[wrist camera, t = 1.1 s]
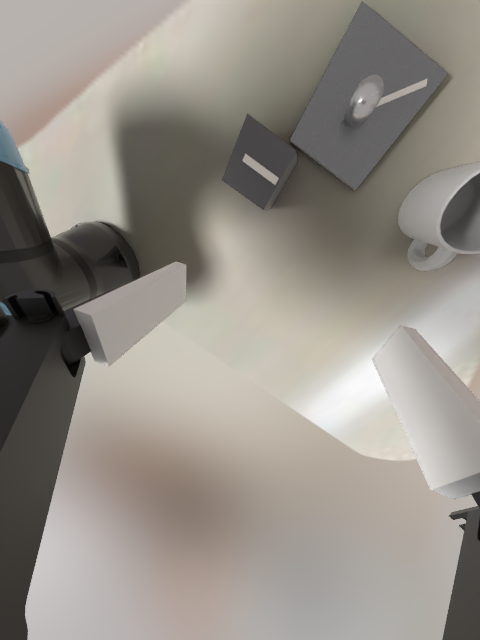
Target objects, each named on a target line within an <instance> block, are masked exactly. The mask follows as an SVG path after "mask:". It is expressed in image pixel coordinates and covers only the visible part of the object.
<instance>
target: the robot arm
mask: <svg viewBox="0 0 480 640" xmlns="http://www.w3.org/2000/svg"><path fill="white" fill-rule="evenodd" d="M28 173H29V170H28V168H26V167H25V165H24V163H23V160H22V158H21V156H20V153H19V151H18V148H17V146H16V143H15V141H14V139H13V137H12V134H11V133H10V131H9V130H8V128H7V127H6V126H5V125H4V124H3V123H2V122H1V121H0V640H27V635H28V633H27V632H28V629H27V624H26V619H25V605H26V599H27V595H28V591H29V587H30V583H31V579H32V575H33V571H34V567H35V563H36V559H37V555H38V551H39V547H40V543H41V539H42V534H43V531H44V526H45V523H46V519H47V515H48V511H49V507H50V503H51V499H52V494H53V491H54V486H55V483H56V479H57V474H58V471H59V466H60V463H61V458H62V455H63V450H64V446H65V442H66V438H67V434H68V430H69V426H70V422H71V418H72V414H73V410H74V406H75V402H76V398H77V394H78V390H79V386H80V382H81V378H82V374H83V370H84V366H85V357H84V356H85V355H86V354H88V353H89V352H91V353H92V356H93V358H94V360H95V361H96V362H99V363H102V364H104V365H107V366H110V365H112V364H113V363H114V362H115V361H116V360H118V359H119V358H120V357H121V356H122V355H123V354H124V353H125V352H127V351H128V350H129V349H130V348H132V347H133V346H134V345H135V344H136V343H137V342H139V341H140V340H141V339H142V338H143V337H144V336H146V335H147V334H148V333H149V332H150V331H152V330H153V329H154V328H155V327H156V326H157V325H158V324H160V323H161V322H162V321H163V320H165V319H166V318H167V317H168V316H169V315H170V314H172V313H173V312H174V311H175V310H176V309H177V308H179V307H180V306H181V305H182V304H183V303H184V302H186V264H183V263H179V262H174V263H171V264H169V265H167V266H165V267H163V268H161V269H159V270H156V271H154V272H152V273H150V274H148V275H146V276H144V277H141V278H139V267H138V263H137V260H136V258H135V255H134V253H133V251H132V250H131V248H130V246H129V245H128V244H127V242H126V241H125V240H124V239H123V238H122V236H121V235H120V234H118V233H117V232H116V231H115V230H114V229H112V228H111V227H109V226H107V225H105V224H103V223H100V222H85V223H79V224H77V225H75V226H73V227H72V228H71V229H70V230H68V231H66V232H63V233H61V234H59V235H57V236H55V237H52V238H51V237H50V234H49V232H48V229H47V226H46V223H45V220H44V218H43V215H42V212H41V209H40V206H39V204H38V201H37V198H36V195H35V193H34V190H33V187H32V184H31V181H30V179H29V176H28ZM29 174H30V173H29ZM372 361H373V363H374V365H375V367H376V369H377V372H378V374H379V376H380V378H381V381H382V383H383V385H384V387H385V389H386V392H387V394H388V396H389V398H390V401H391V403H392V405H393V407H394V410H395V412H396V414H397V416H398V418H399V421H400V423H401V425H402V427H403V430H404V432H405V434H406V436H407V438H408V441H409V443H410V445H411V447H412V450H413V452H414V454H415V456H416V459H417V461H418V463H419V465H420V467H421V470H422V472H423V474H424V476H425V479H426V481H427V483H428V485H429V487H430V490H432V491H434V492H437V493H439V494H442V495H445V496H447V497H450V498H452V499H458V498H461V497H465V496H468V495H472V496H473V498H474V500H475V501H476V503H477V505H478V506H476V507H472V508H468V509H464V510H460V511H456V512H452V513H451V514H450V515H449V516H450V517H451V518H452V519H453V520H455V519H459V518H463V519H465V520H466V524H462V525H459V526H460V527H461V528H462V529H463V530H464V535H463V541H462V545H461V550H460V555H459V560H458V566H457V570H456V575H455V580H454V585H453V590H452V595H451V600H450V605H449V610H448V615H447V620H446V625H445V630H444V635H443V640H480V401H479V400H478V399H477V398H476V397H475V395H474V394H473V393H472V392H471V391H470V390H469V389H468V387H467V386H466V385H465V384H464V383H463V382H462V381H461V380H460V378H459V377H458V376H457V375H456V374H455V373H454V372H453V371H452V370H451V368H450V367H449V366H448V365H447V364H446V363H445V362H444V361H443V360H442V358H441V357H440V356H439V355H438V354H437V353H436V352H435V351H434V350H433V348H432V347H431V346H430V345H429V344H428V343H427V342H426V341H425V340H424V338H423V337H422V336H421V335H420V334H419V333H418V332H417V331H416V329H412V328H409V327H405V326H402V325H401V326H400V327H399V328H398V329H397V330H396V331H395V333H394V334H393V335H392V336H391V337H390V338H389V340H388V341H387V342H386V343H385V344H384V345H383V347H382V348H381V349H380V350H379V351H378V352H377V354H376V355H375V356H374V357H373V358H372Z"/></svg>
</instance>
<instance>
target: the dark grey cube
mask: <svg viewBox="0 0 480 640" xmlns="http://www.w3.org/2000/svg"><path fill="white" fill-rule="evenodd" d="M297 162H298V159H297V151H296V150H295V149H294V148H292V147H291V146H290V145H288V144H287V143H286V142H284V141H283V140H282V139H280V138H279V137H278V136H276V135H275V134H274V133H272V132H271V131H270V130H268V129H267V128H266V127H264V126H263V125H262V124H260V123H259V122H258V121H256V120H255V119H254V118H252V117H251V116H250V115H249V114H247V116H246V119H245V122H244V124H243V127H242V129H241V132H240V135H239V137H238V140H237V142H236V145H235V148H234V150H233V153H232V155H231V158H230V161H229V163H228V166H227V168H226V171H225V174H224V176H223V179H222V180H223V181H224V182H226V183H227V184H228V185H230V186H231V187H232V188H234V189H235V190H237V191H238V192H239V193H241V194H242V195H244V196H245V197H246V198H248V199H249V200H251V201H252V202H253V203H255V204H256V205H257V206H259V207H260V208H262V209H263V210H266V209H271V207H272V206H273V204H274V202H275V200H276V199H277V197H278V195H279V194H280V192H281V190H282V188H283V187H284V185H285V183H286V181H287V180H288V178H289V176H290V174H291V173H292V171H293V169H294V167H295V166H296V164H297Z"/></svg>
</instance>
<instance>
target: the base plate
mask: <svg viewBox="0 0 480 640" xmlns="http://www.w3.org/2000/svg"><path fill="white" fill-rule="evenodd" d="M447 74H448V73H447V72H446V71H444V70H443V69H442V68H441V67H440V66H438V65H437V64H436V63H435V62H434V61H433V60H431V59H430V58H429V57H428V56H427V55H425V54H424V53H423V52H422V51H421V50H419V49H418V48H417V47H416V46H415V45H414V44H412V43H411V42H410V41H409V40H408V39H406V38H405V37H404V36H403V35H402V34H401V33H399V32H398V31H397V30H396V29H395V28H393V27H392V26H391V25H390V24H389V23H387V22H386V21H385V20H384V19H383V18H382V17H380V16H379V15H378V14H377V13H376V12H374V11H373V10H372V9H371V8H370V7H369V6H367V5H366V4H365V3H364V2H363V1H362V2H361V4H360V6H359V8H358V10H357V12H356V14H355V16H354V18H353V20H352V22H351V23H350V25H349V27H348V29H347V31H346V33H345V35H344V37H343V39H342V41H341V43H340V45H339V47H338V48H337V50H336V52H335V54H334V56H333V58H332V60H331V62H330V64H329V66H328V68H327V70H326V71H325V73H324V75H323V77H322V79H321V81H320V83H319V85H318V87H317V89H316V91H315V93H314V94H313V96H312V98H311V100H310V102H309V104H308V106H307V108H306V110H305V112H304V114H303V116H302V117H301V119H300V121H299V123H298V125H297V127H296V129H295V131H294V133H293V135H292V137H291V139H290V143H292V144H293V145H294V146H296V147H297V148H298V149H300V150H301V151H302V152H304V153H305V154H306V155H307V156H309V157H310V158H311V159H313V160H314V161H315V162H317V163H318V164H319V165H321V166H322V167H323V168H325V169H326V170H327V171H329V172H330V173H331V174H333V175H334V176H335V177H337V178H338V179H339V180H341V181H342V182H343V183H344V184H346V185H347V186H348V187H350V188H351V189H352V190H356V189H357V188H358V186H359V185H360V184H361V183H362V181H363V180H364V179H365V178H366V176H367V175H368V174H369V173H370V171H371V170H372V169H373V168H374V166H375V165H376V164H377V163H378V161H379V160H380V159H381V158H382V156H383V155H384V154H385V152H386V151H387V150H388V149H389V147H390V146H391V145H392V144H393V142H394V141H395V140H396V139H397V137H398V136H399V135H400V134H401V132H402V131H403V130H404V129H405V127H406V126H407V125H408V124H409V122H410V121H411V120H412V119H413V117H414V116H415V115H416V113H417V112H418V111H419V110H420V108H421V107H422V106H423V105H424V103H425V102H426V101H427V100H428V98H429V97H430V96H431V95H432V93H433V92H434V91H435V90H436V88H437V87H438V86H439V85H440V83H441V82H442V81H443V80H444V78H445V77H446V76H447Z"/></svg>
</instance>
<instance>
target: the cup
mask: <svg viewBox="0 0 480 640" xmlns="http://www.w3.org/2000/svg"><path fill="white" fill-rule="evenodd" d="M398 224H399V227H400V229H401V231H402V232H403V233H404V234H405V235H407V236H408V237H410V238H413V239H414V240H413V242H412V243H411V245H410V247H409V250H408V254H407V259H408V262H409V263H410V265H411V266H413V267H414V268H415V269H417V270H419V271H430V270H435V269H439V268H441V267H443V266H445V265H447V264H448V263H449V262H450V261H451V260H452V259H453V258H454V257H455V256H456V255H457V253H459V254H479V253H480V161H478V162H474V163H470V164H466V165H461V166H457V167H453V168H449V169H446V170H442V171H439V172H436V173H434V174H432V175H430V176H428V177H427V178H425V179H424V180H422V181H421V182H420V183H418V184H417V185H416V186H415V187H414V188H413V189H412V190H411V191H410V192H409V193H408V194H407V196H406V197H405V199H404V200H403V202H402V204H401V207H400V209H399V213H398ZM428 244H431V245H435V246H437V247H438V248H437V250H436V251H435V252H434V253H433V254H432V255H431V256H429V257H428V256H426V255H425V249H426V247H427V245H428Z"/></svg>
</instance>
